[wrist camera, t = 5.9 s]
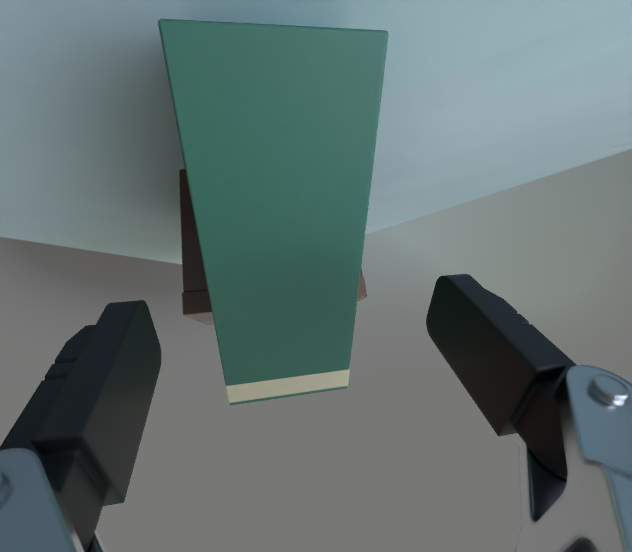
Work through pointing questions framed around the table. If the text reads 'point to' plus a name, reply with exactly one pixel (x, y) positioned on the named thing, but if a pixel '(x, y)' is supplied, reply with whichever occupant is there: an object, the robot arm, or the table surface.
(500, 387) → the robot arm
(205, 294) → the walnut box
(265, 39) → the green block
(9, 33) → the table surface
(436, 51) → the table surface
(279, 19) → the table surface
